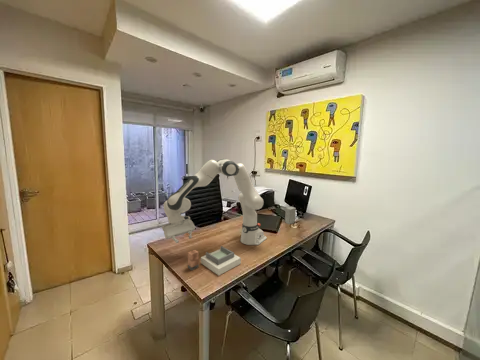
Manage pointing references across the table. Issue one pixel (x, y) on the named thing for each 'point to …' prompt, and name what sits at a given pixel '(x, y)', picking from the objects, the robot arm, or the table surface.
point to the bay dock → (220, 260)
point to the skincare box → (290, 215)
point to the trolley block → (193, 259)
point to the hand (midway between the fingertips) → (184, 240)
